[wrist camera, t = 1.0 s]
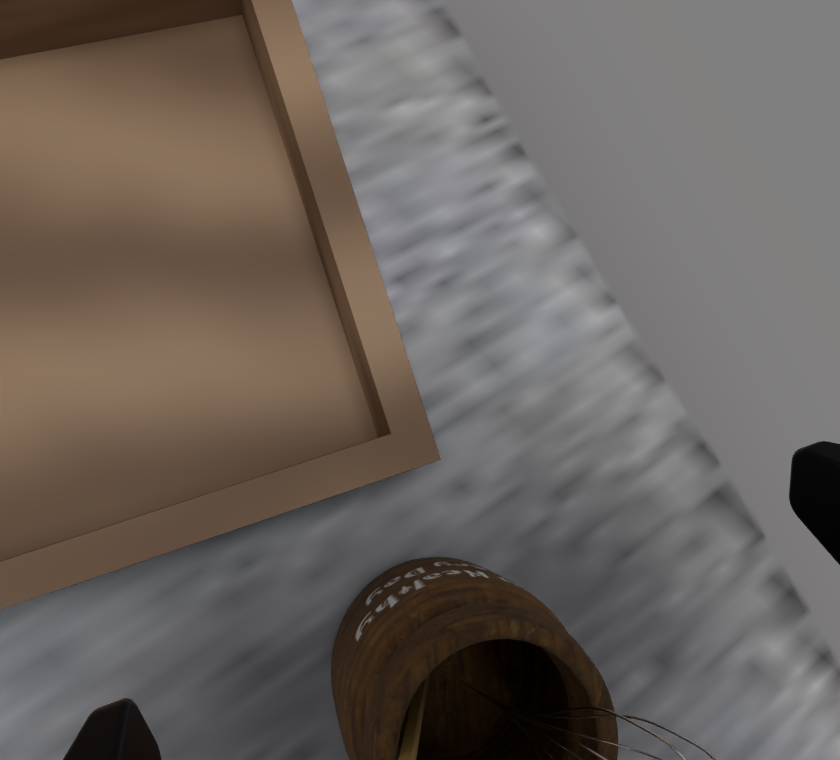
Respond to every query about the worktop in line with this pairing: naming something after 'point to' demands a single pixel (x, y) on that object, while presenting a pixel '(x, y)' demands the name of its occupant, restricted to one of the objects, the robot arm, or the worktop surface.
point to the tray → (179, 288)
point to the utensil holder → (467, 673)
